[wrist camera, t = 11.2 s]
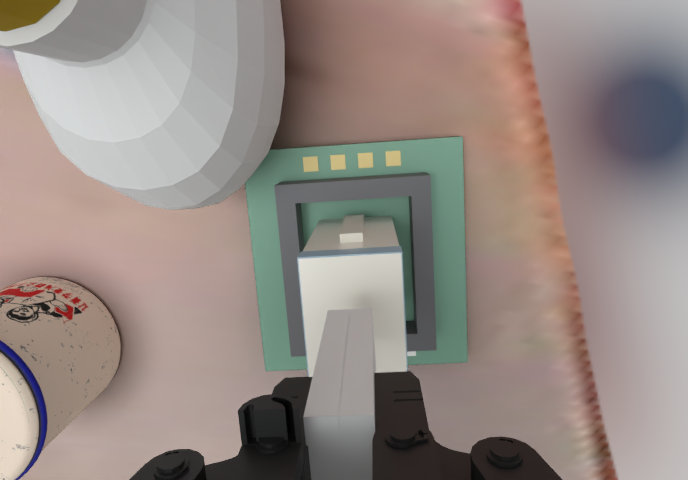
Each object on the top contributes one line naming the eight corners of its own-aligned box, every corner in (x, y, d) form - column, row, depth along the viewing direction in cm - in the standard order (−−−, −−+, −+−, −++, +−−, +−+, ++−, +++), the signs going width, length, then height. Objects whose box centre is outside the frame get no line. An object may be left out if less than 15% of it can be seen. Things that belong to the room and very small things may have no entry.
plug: (396, 301, 30) (408, 374, 21) (325, 305, 30) (307, 378, 21) (391, 208, 29) (401, 243, 20) (318, 212, 29) (296, 249, 20)
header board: (463, 351, 32) (474, 378, 28) (270, 360, 32) (258, 387, 29) (457, 136, 29) (469, 137, 26) (247, 151, 30) (232, 153, 26)
